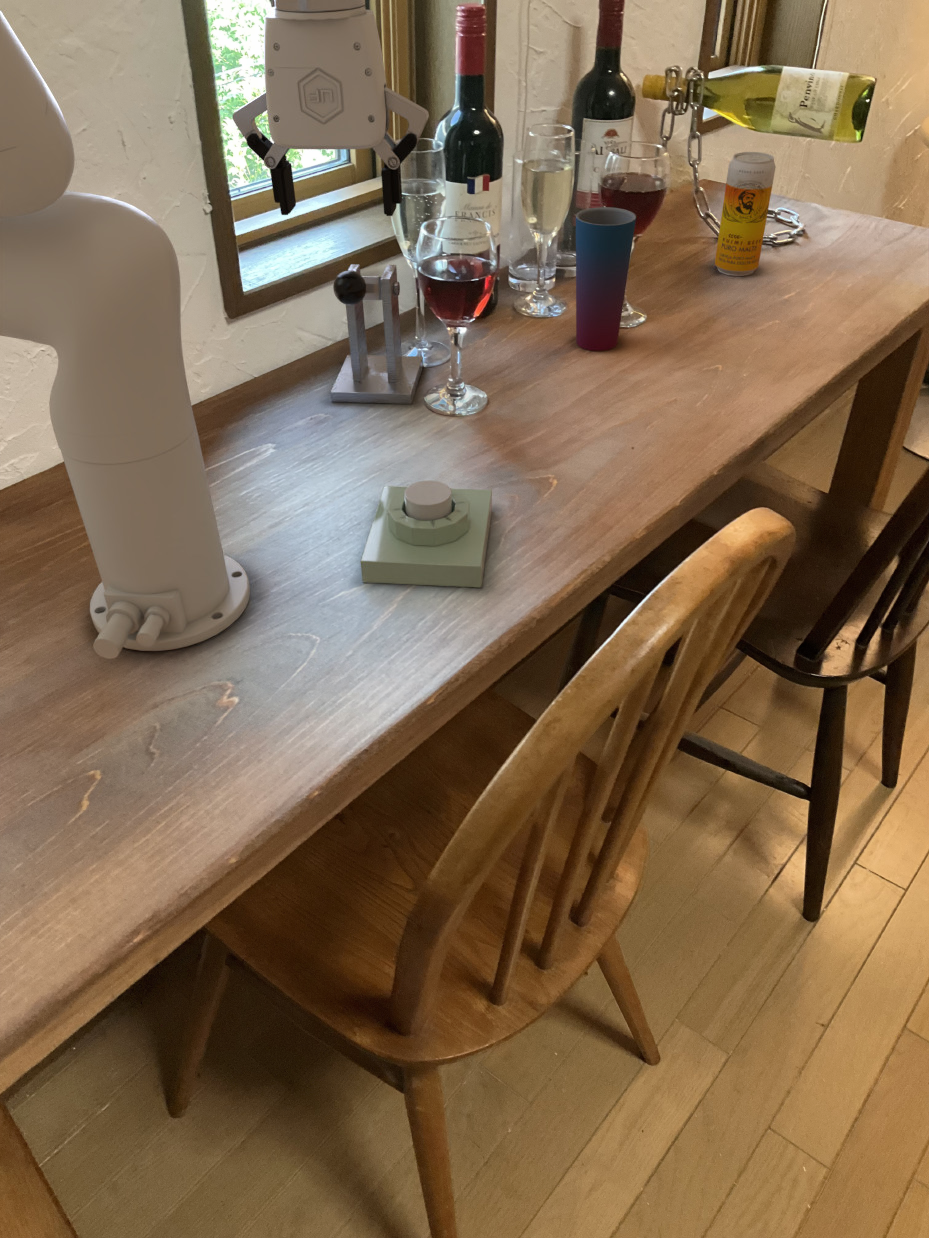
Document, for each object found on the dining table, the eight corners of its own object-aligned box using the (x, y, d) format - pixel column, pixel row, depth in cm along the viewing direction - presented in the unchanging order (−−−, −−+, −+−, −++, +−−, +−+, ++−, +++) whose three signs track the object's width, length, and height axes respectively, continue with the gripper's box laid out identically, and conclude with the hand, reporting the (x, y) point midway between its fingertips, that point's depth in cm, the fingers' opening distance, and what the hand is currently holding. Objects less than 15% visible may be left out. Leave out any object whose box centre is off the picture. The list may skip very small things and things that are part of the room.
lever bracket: (411, 404, 106) (405, 289, 98) (331, 401, 107) (318, 287, 99) (423, 366, 114) (418, 256, 106) (348, 364, 114) (337, 255, 106)
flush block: (481, 588, 80) (480, 548, 77) (362, 582, 80) (358, 543, 78) (492, 510, 89) (492, 472, 86) (385, 506, 90) (382, 468, 87)
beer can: (714, 276, 135) (731, 162, 126) (713, 262, 140) (729, 150, 131) (758, 278, 135) (779, 163, 125) (755, 263, 139) (775, 151, 130)
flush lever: (363, 305, 92) (362, 270, 91) (330, 305, 92) (329, 269, 91) (388, 304, 105) (388, 272, 104) (359, 303, 105) (358, 272, 104)
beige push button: (449, 523, 81) (448, 505, 80) (402, 521, 81) (401, 504, 80) (454, 498, 84) (453, 481, 83) (409, 496, 84) (407, 479, 83)
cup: (627, 354, 115) (639, 224, 106) (570, 354, 116) (577, 225, 106) (621, 331, 121) (632, 206, 111) (567, 332, 121) (573, 207, 111)
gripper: (201, 0, 76) (238, 223, 87) (417, -2, 75) (426, 225, 86) (228, -11, 82) (259, 199, 93) (428, -14, 81) (436, 200, 92)
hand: (339, 211), depth 89 cm, fingers open, 9 cm apart
